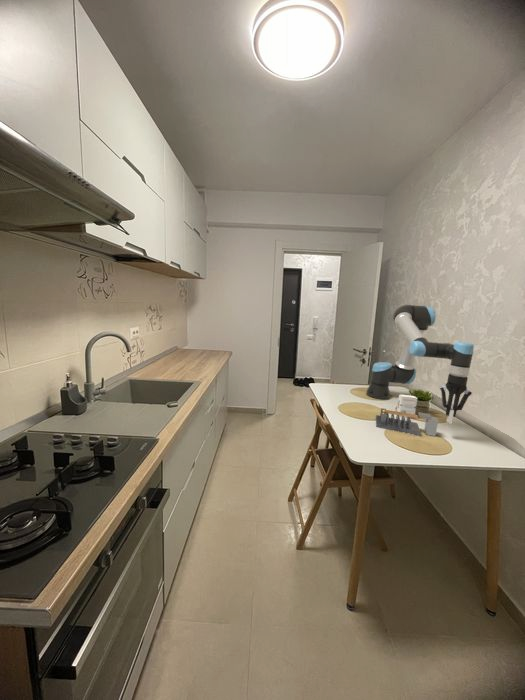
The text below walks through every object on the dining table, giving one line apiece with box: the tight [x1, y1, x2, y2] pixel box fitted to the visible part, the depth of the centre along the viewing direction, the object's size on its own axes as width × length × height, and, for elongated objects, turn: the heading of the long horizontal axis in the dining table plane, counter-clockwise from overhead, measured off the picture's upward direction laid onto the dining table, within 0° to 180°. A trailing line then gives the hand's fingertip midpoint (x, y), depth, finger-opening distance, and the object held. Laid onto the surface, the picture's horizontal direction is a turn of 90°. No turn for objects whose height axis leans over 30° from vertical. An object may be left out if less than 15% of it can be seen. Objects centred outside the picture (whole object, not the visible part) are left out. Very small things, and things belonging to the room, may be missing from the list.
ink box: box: [396, 394, 418, 419], centre depth 161 cm, size 9×5×12 cm, turn 84°
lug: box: [417, 411, 439, 437], centre depth 140 cm, size 5×8×9 cm, turn 69°
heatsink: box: [375, 407, 422, 437], centre depth 144 cm, size 12×20×7 cm, turn 69°
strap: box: [382, 408, 419, 419], centre depth 144 cm, size 4×16×2 cm, turn 69°
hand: (449, 422), depth 136 cm, fingers closed
